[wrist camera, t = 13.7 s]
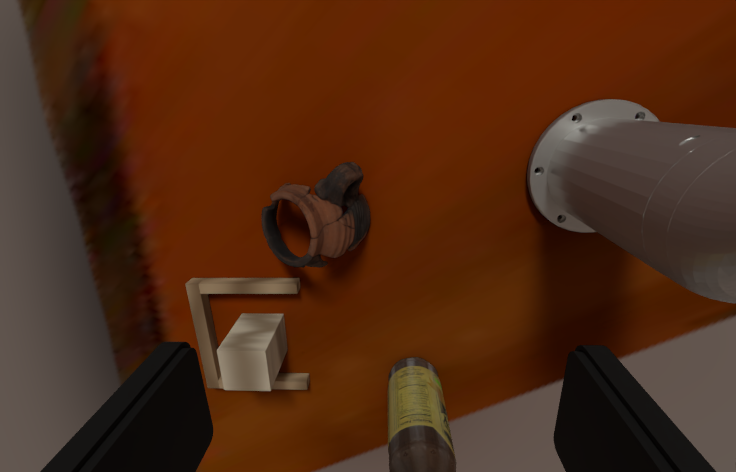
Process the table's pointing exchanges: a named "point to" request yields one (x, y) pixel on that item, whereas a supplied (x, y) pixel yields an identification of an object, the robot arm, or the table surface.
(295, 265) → the broken clay pot rim
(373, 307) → the table surface
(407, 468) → the sauce bottle
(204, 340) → the oak bay
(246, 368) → the birch block
